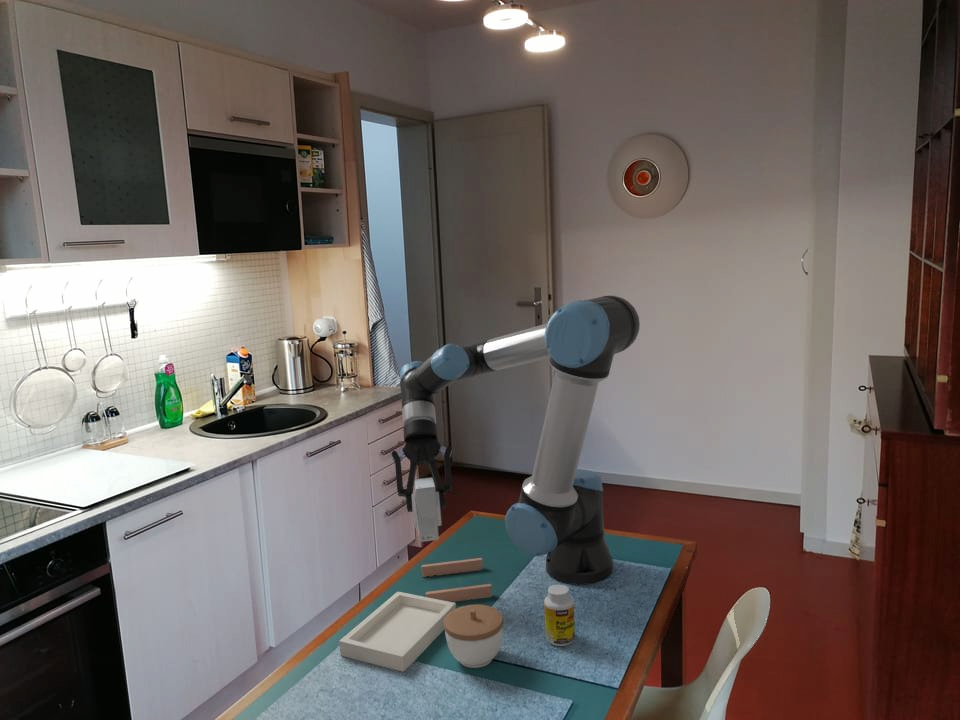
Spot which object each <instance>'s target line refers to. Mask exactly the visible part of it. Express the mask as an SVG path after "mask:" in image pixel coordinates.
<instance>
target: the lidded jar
mask: <svg viewBox="0 0 960 720" xmlns="http://www.w3.org/2000/svg"><path fill="white" fill-rule="evenodd" d="M444 628H445V629H444V634H445V640H446V644H447V646H448V650H449V651H450V653H451V655H452V656H453V657H454V658H455V659H456V660H457V662H459V663H460V664H461V665H462V666H463V667H466V668H469V669H479V668H483V667H486V666H488V665H489V664H490V663H491V662H492V661H493V659H495V657H496V656H497V655H498V653H499V651H500V649H501V647H502V643H503V637H504V617H503V615H502V613H501V612H500V611H499V610H498V609H497V608H495V607H492V606H490V605H486V604H468V605H463V606H460V607H456V609H454V610H453V611H451V612H450V613H449V614H448V615H447V616H446V617H445V620H444Z"/></svg>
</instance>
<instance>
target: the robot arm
mask: <svg viewBox="0 0 960 720" xmlns="http://www.w3.org/2000/svg"><path fill="white" fill-rule="evenodd" d="M640 325H641V323H640V316H639V314H638V312H637V310H636V308H635V307H634V306H633V305H632V304H631V303H630V302H629V301H628V300H627V299H625V298H623V297H620V296H617V295H603V296H600V297H595V298H591V299H580V300H579V299H578V300H574V301H571V302H570V303H567V304H566V305H563V306H561V307H559V308H558V309H557V310H555V311H554V313H553V314H552V315H551V317H550V318H549V319H548V321H547V322H546V323H544V324H540V325H537V326H532V327H529V328H527V329H526V328H525V329H522V330H520V331H519V330H518V331H515V332H511V333H509V334H505V335H501V336H498V337H494V338H490V339H487V340H483V341H479V342H475V343H472V344H469V345H465V346H459V345H458V344H454V343H447V344H445V345H444V346H442V347H440V348H438V349H437V350H436V351H435V352H434V353H433V354H431V356H429V358H427V359H426V360H425V361H419V360H418V361H417V360H416V361H411V362H409V363H406V364H404V365H403V366H402V367H401V370H400V377H399V378H400V379H399V380H400V381H399V387H400V398H401V413H402V426H403V430H402V431H403V446H402V449H400V450H397V451H396V450H393V451H392V452H391V458H392V461H393V463H394V466H395V468H394V469H395V477H396V478H395V479H396V491H397V496H398V497H404V498H405V499H406V500H405V501H406V510H407V512H408V513H412V523H413V524H412V525H413V528H414V529H418V525H417V511H416V498H415V493H414V489H415V483H414V480H415V479H416V475H417V470H418V466H421V465H428V468H429V470H430V472H431V475H432V477H433V480H434V484H435V489H436V490H437V491H436V506H437V520H438V527H440V526H442V514H441V513H442V512H441V510H445V508H446V496H445V495H446V494H447V493H448V492H449V493H450V492H452V491H453V480H452V468H451V467H452V466H451V457H452V454H453V448H452V446H450V445H448V446H443V445H441V443H440V441H439V436H438V426H437V418H436V405H435V396H436V395H437V394H439V393H440V392H441V391H443V390H444V389H445V388H446V387H448V386H449V385H451V384H453V383H457V382H460V381H464V380H467V379H471V378H473V377H478V376H480V375H481V376H482V375H484V374H485V375H486V374H489V373H493V372H496V371H499V370H505V369H509V368H513V367H517V366H518V367H519V366H522V365H526V364H530V363H533V362H538V361H543V360H547V359H549V366H550V367H551V368H552V370H553V371H554V376H553V381H552V384H551V385H552V386H551V390H550V395H549V399H548V404H547V408H546V412H545V417H544V421H543V426H542V430H541V434H540V437H539V444H538V446H537V447H538V448H537V452H536V456H535V461H534V465H533V470H532V473H531V476H529V477H527V478H525V479H524V480H523V483H522V485H521V489H520V494H519V499H518V501H517V502H515V503H514V504H512V505H511V507H510V508H508V510H507V512H506V514H505V517H504V525H505V528H506V532H507V535H508V536H509V537H510V539H511V541H512V543H513V544H514V545H515V546H516V548H517V549H519V550H520V551H521V552H523V553H524V554H526V555H529V556H533V557H541V556H545V555H546V558H545V570H546V573H547V575H548V576H549V577H550V578H552V579H554V580H555V581H558V582H561V583H565V584H570V585H590V584H594V583H595V584H596V583H600V582H602V581H604V580H606V579H607V578H609V577H610V576H611V575H612V574H613V572H614V565H613V563H614V561H613V557H612V555H611V553H610V549H609V547H608V543H607V541H606V537H605V532H604V531H605V524H604V519H605V517H604V489H603V488H604V487H603V480H602V477H601V475H599V474H598V473H597V472H594V471H591V470H587V469H582V468H581V469H579V467H578V466H579V462H580V459H581V456H582V450H583V448H584V447H583V446H584V443H585V439H586V435H587V431H588V427H589V422H590V419H591V416H592V415H591V414H592V410H593V407H594V403H595V399H596V395H597V391H598V386H599V383H600V382H602V381H603V380H606V379H608V377H609V375H610V372H611V371H610V370H611V367H612V364H613V361H614V356H615V355H617V354H619V353H622V352H623V351H625V350H627V349H628V348H630V347H631V346H632V345H633V344H634V342H635V341H636V339H637V337H638V335H639V333H640ZM439 453H441V457H443V458H444V474H445V484H443V482H442V479H441V476H440V473H439V469H438V467H437V463H436V460H435V459H436V458H437V457H438V455H439ZM403 456H405V457H406V458H407V459H408V460H409V461H410V465H409V472H408V477H407V483H406V488H404V483H403V472H402V463H401V461H403V459H404V458H403Z"/></svg>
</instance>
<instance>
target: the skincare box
mask: <svg viewBox="0 0 960 720" xmlns="http://www.w3.org/2000/svg"><path fill="white" fill-rule="evenodd" d="M436 492H437V491H436V485H435V482H434V479H433V476H432V477H424V478H421V477H420V478H415V480H414V494H415V498H416V512H417V526H418V528H417V533H418V534H417V535H418V539H419V540H418V541H419V543H424V542H430V541H439V539H440V537H439V536H440V535H439V534H440V533H439V526H438V520H437V506H436Z"/></svg>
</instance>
